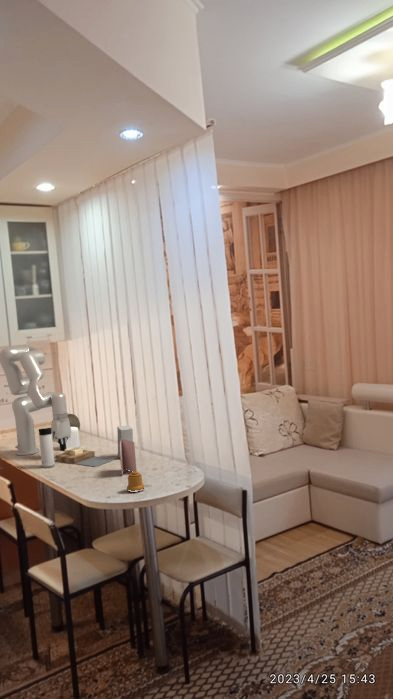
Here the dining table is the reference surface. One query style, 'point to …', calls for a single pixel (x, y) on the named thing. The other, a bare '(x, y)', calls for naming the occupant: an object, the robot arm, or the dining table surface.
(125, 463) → the greeting card
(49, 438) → the travel mug
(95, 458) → the mat
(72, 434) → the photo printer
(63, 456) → the tan flat square block
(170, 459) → the dining table surface
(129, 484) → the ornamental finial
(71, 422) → the cantaloupe
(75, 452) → the cream rectangular block
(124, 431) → the skincare box
